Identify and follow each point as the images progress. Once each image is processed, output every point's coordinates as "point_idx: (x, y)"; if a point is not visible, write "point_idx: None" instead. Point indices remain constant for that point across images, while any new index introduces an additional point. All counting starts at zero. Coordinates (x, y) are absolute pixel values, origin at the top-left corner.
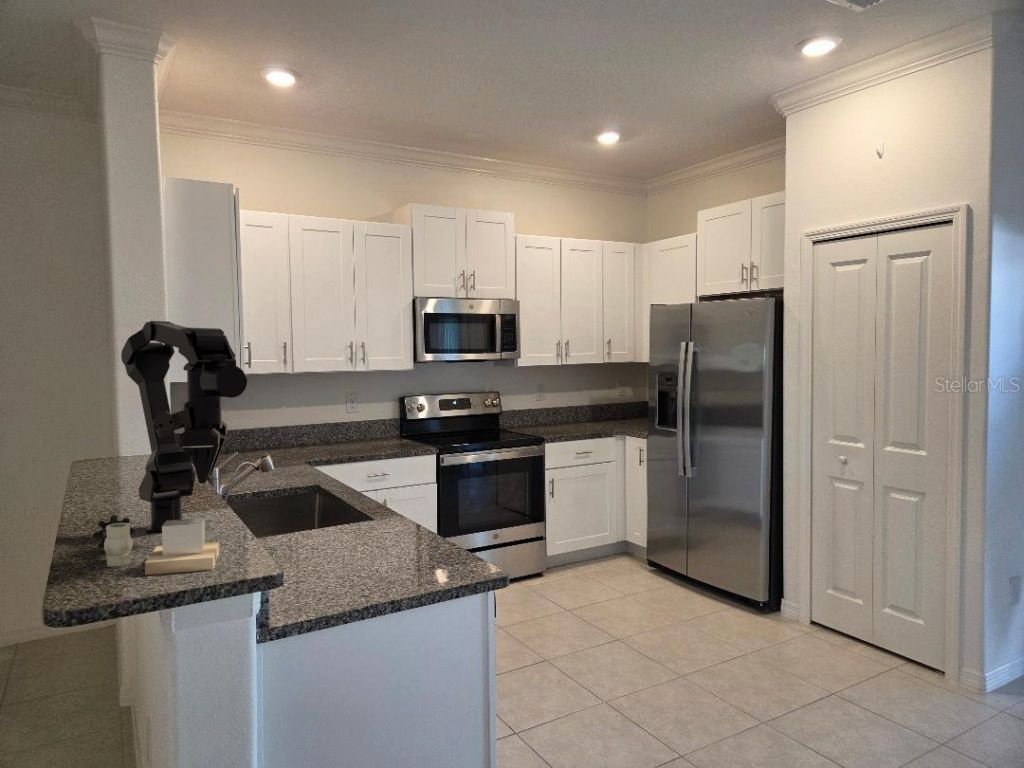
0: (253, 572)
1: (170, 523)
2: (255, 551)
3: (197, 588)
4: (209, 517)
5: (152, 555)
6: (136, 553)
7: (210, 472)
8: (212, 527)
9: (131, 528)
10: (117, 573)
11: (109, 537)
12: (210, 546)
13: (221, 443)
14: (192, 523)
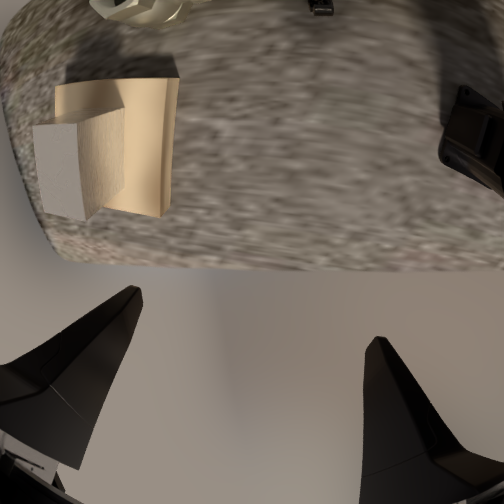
0: (64, 239)
1: (50, 141)
2: (163, 262)
3: (20, 171)
4: (496, 238)
5: (91, 86)
6: (245, 28)
7: (368, 356)
8: (421, 226)
9: (314, 5)
10: (97, 29)
11: None
12: (127, 198)
13: (362, 498)
14: (46, 193)
